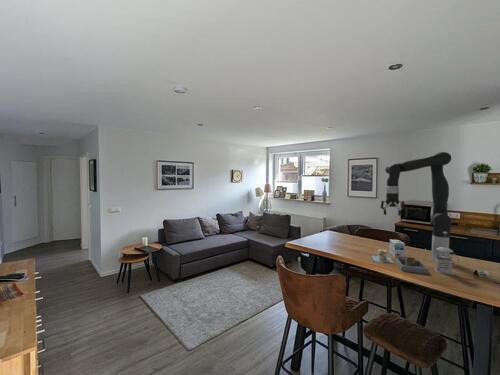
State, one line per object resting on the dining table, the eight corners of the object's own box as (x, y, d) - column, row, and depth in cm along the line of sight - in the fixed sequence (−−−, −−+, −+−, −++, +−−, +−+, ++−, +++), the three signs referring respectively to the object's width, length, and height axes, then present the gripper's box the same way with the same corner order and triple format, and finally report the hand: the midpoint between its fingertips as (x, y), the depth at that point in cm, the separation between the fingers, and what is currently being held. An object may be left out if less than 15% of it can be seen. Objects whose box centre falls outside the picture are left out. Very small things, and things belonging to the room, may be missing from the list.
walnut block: (412, 265, 154) (413, 256, 154) (414, 267, 150) (415, 258, 150) (404, 264, 156) (404, 255, 155) (406, 266, 151) (406, 257, 151)
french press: (433, 267, 151) (435, 229, 150) (457, 272, 144) (459, 231, 143) (432, 272, 144) (434, 231, 143) (458, 277, 136) (460, 234, 135)
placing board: (390, 258, 168) (390, 257, 168) (393, 263, 157) (393, 263, 157) (371, 256, 173) (371, 255, 173) (373, 261, 162) (373, 260, 162)
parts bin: (419, 265, 154) (420, 260, 154) (428, 274, 140) (428, 268, 140) (395, 262, 159) (396, 257, 159) (401, 271, 145) (401, 265, 145)
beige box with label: (385, 258, 166) (385, 249, 166) (386, 260, 162) (386, 251, 162) (378, 257, 168) (378, 249, 168) (378, 259, 164) (379, 250, 163)
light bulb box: (404, 258, 169) (405, 243, 168) (394, 257, 170) (394, 242, 170) (398, 253, 179) (399, 239, 179) (388, 253, 181) (389, 239, 180)
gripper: (402, 192, 170) (402, 215, 170) (380, 192, 174) (379, 214, 175) (405, 192, 163) (405, 216, 163) (382, 192, 167) (381, 215, 168)
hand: (392, 215), depth 169 cm, fingers open, 8 cm apart
